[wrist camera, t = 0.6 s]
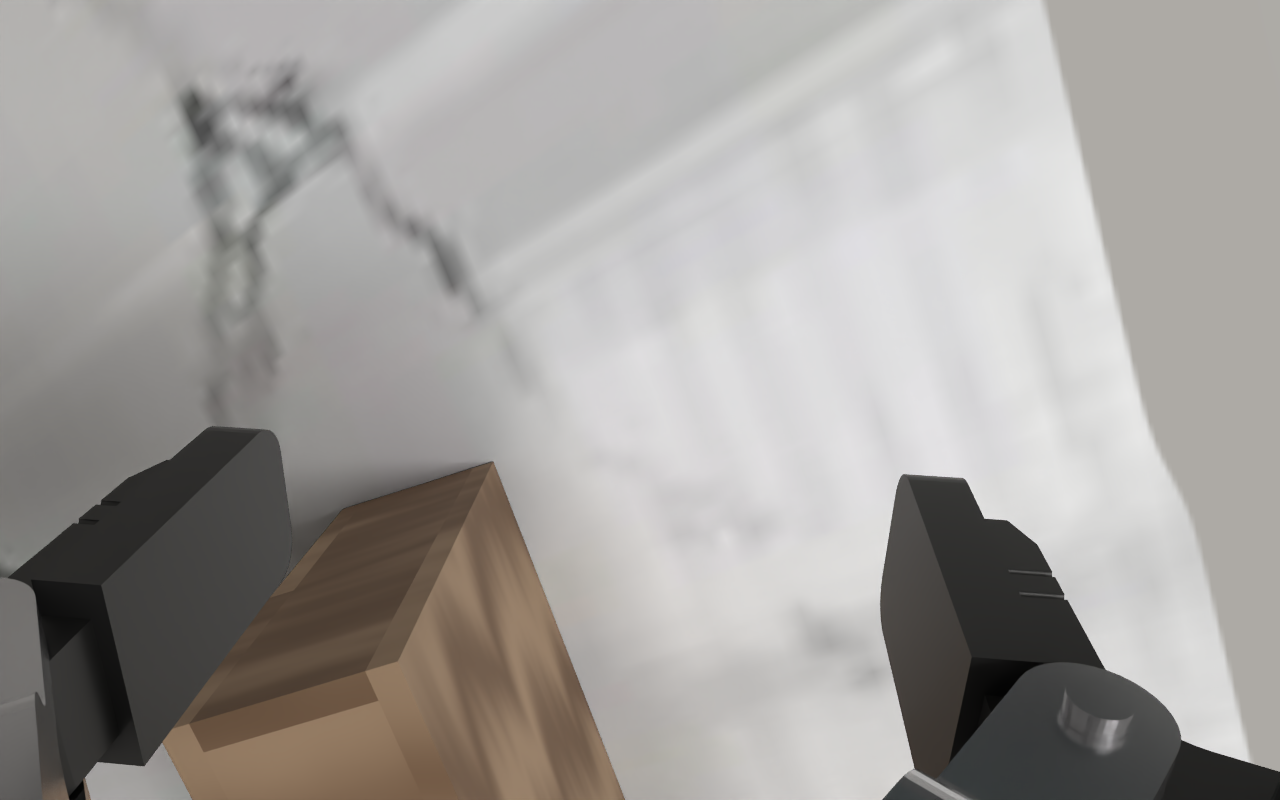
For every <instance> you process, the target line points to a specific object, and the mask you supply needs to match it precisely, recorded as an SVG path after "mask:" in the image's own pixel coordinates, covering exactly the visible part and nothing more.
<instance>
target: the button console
mask: <svg viewBox="0 0 1280 800" xmlns="http://www.w3.org/2000/svg"><path fill="white" fill-rule="evenodd" d="M162 743H163V744H164V746H165V748H166V750H167V752H168V754H169V756H170V758H171V760H172V762H173V763H174V765H175V767H176V769H177V771H178V773H179V775H180V777H181V779H182V781H183V782H184V784H185V786H186V788H187V790H188V792H189V794H190V796H191V798H192V800H625V799H624V796H623V793H622V791H621V788H620V786H619V783H618V781H617V778H616V775H615V773H614V770H613V768H612V765H611V763H610V760H609V757H608V755H607V752H606V750H605V747H604V745H603V742H602V740H601V737H600V734H599V732H598V729H597V727H596V724H595V722H594V719H593V716H592V714H591V711H590V709H589V706H588V704H587V701H586V698H585V696H584V693H583V691H582V688H581V686H580V683H579V681H578V678H577V675H576V673H575V670H574V668H573V665H572V663H571V660H570V657H569V655H568V652H567V650H566V647H565V645H564V642H563V639H562V637H561V634H560V632H559V629H558V627H557V624H556V621H555V619H554V616H553V614H552V611H551V609H550V606H549V604H548V601H547V598H546V596H545V593H544V591H543V588H542V586H541V583H540V580H539V578H538V575H537V573H536V570H535V568H534V565H533V562H532V560H531V557H530V555H529V552H528V550H527V547H526V544H525V542H524V539H523V537H522V534H521V532H520V529H519V527H518V524H517V521H516V519H515V516H514V514H513V511H512V509H511V506H510V503H509V501H508V498H507V496H506V493H505V491H504V488H503V485H502V483H501V480H500V478H499V475H498V473H497V470H496V468H495V465H494V462H490V463H487V464H484V465H481V466H478V467H474V468H471V469H468V470H465V471H462V472H459V473H455V474H452V475H449V476H446V477H443V478H440V479H436V480H433V481H430V482H427V483H424V484H421V485H417V486H414V487H411V488H408V489H405V490H402V491H398V492H395V493H392V494H389V495H386V496H383V497H379V498H376V499H373V500H370V501H367V502H364V503H360V504H357V505H354V506H351V507H348V508H345V509H342V511H341V512H340V513H339V514H338V515H337V517H336V518H335V519H334V520H333V521H332V523H331V524H330V525H329V526H328V528H327V529H326V530H325V531H324V532H323V534H322V535H321V536H320V537H319V538H318V540H317V541H316V542H315V543H314V545H313V546H312V547H311V548H310V549H309V551H308V552H307V553H306V554H305V555H304V557H303V558H302V559H301V560H300V561H299V563H298V564H297V565H296V566H295V568H294V569H293V570H292V571H291V572H290V574H289V575H288V576H287V577H286V578H285V580H284V581H283V582H282V583H281V584H280V586H279V587H278V588H277V589H276V591H275V592H274V593H273V594H272V595H271V597H270V598H269V599H268V601H267V602H266V603H265V605H264V606H263V607H262V609H261V610H260V611H259V613H258V614H257V615H256V617H255V618H254V619H253V621H252V622H251V623H250V625H249V626H248V628H247V629H246V630H245V632H244V633H243V634H242V636H241V637H240V638H239V640H238V641H237V642H236V644H235V645H234V646H233V648H232V649H231V650H230V652H229V653H228V654H227V656H226V657H225V658H224V660H223V661H222V662H221V664H220V665H219V667H218V668H217V669H216V671H215V672H214V673H213V675H212V676H211V677H210V679H209V680H208V681H207V683H206V684H205V685H204V687H203V688H202V689H201V691H200V692H199V693H198V695H197V696H196V697H195V699H194V700H193V701H192V703H191V704H190V705H189V707H188V708H187V710H186V711H185V712H184V714H183V715H182V716H181V718H180V719H179V720H178V722H177V723H176V724H175V726H174V727H173V728H172V730H171V731H170V732H169V734H168V735H167V736H166V738H165V739H164V740H163V742H162Z"/></svg>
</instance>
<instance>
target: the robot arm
mask: <svg viewBox="0 0 1280 800" xmlns="http://www.w3.org/2000/svg"><path fill="white" fill-rule="evenodd" d="M291 551H292V531H291V523H290V516H289V509H288V501H287V494H286V487H285V479H284V472H283V465H282V458H281V451H280V446H279V442H278V440H277V438H276V436H275V434H274V433H273V432H271V431H269V430H262V429H247V428H232V427H217V426H212V427H209V428H207V429H206V430H204V431H203V432H202V433H201V434H200V435H198V436H197V437H196V438H195V439H194V440H193V441H191V442H190V443H189V444H188V445H187V446H186V447H184V448H183V449H182V450H181V451H180V452H179V453H177V454H176V455H175V456H174V457H173V458H172V459H170V460H166V461H163V462H161V463H159V464H157V465H155V466H153V467H151V468H148V469H146V470H144V471H142V472H140V473H138V474H136V475H134V476H131V477H129V478H128V479H126V480H125V481H124V482H123V483H121V484H120V485H119V486H118V487H117V488H115V489H114V490H113V491H112V492H111V493H109V494H108V495H107V496H106V497H105V498H103V499H102V500H101V505H95V506H94V507H93V508H91V509H90V510H89V511H88V512H87V513H85V514H84V515H83V516H82V517H80V518H79V523H78V524H75V523H73V524H72V525H71V526H70V527H68V528H67V529H66V530H65V531H64V532H62V533H61V534H60V535H59V536H58V537H56V538H55V539H54V540H53V541H52V542H50V543H49V544H48V545H47V546H46V547H44V548H43V549H42V550H41V551H39V552H38V553H37V554H36V555H35V556H33V557H32V558H31V559H30V560H29V561H27V562H26V563H25V564H24V565H23V566H21V567H20V568H19V569H18V570H17V571H15V572H14V573H13V574H12V575H11V576H9V577H8V578H0V800H91V798H90V795H89V791H88V787H87V784H86V780H85V777H86V775H87V774H88V773H89V772H90V770H91V769H92V768H93V767H94V766H95V764H96V763H97V762H104V763H115V764H126V765H136V766H145V765H146V763H147V762H148V761H149V759H150V758H151V757H152V755H153V754H154V753H155V751H156V750H157V749H158V747H159V746H160V744H161V743H162V742H163V740H164V739H165V738H166V736H167V735H168V734H169V732H170V731H171V730H172V728H173V727H174V726H175V724H176V723H177V722H178V720H179V719H180V718H181V716H182V715H183V714H184V712H185V711H186V710H187V708H188V707H189V705H190V704H191V703H192V701H193V700H194V699H195V697H196V696H197V695H198V693H199V692H200V691H201V689H202V688H203V687H204V685H205V684H206V683H207V681H208V680H209V679H210V677H211V676H212V675H213V673H214V672H215V671H216V669H217V668H218V667H219V665H220V664H221V662H222V661H223V660H224V658H225V657H226V656H227V654H228V653H229V652H230V650H231V649H232V648H233V646H234V645H235V644H236V642H237V641H238V640H239V638H240V637H241V636H242V634H243V633H244V632H245V630H246V629H247V628H248V626H249V625H250V623H251V622H252V621H253V619H254V618H255V617H256V615H257V614H258V613H259V611H260V610H261V609H262V607H263V606H264V605H265V603H266V602H267V601H268V599H269V598H270V597H271V595H272V594H273V593H274V591H275V590H276V589H277V587H278V586H279V584H280V583H281V582H282V580H283V578H284V576H285V574H286V571H287V569H288V565H289V562H290V557H291ZM880 611H881V624H882V631H883V635H884V640H885V644H886V648H887V652H888V657H889V661H890V665H891V669H892V674H893V678H894V682H895V686H896V691H897V695H898V699H899V704H900V708H901V712H902V716H903V721H904V725H905V729H906V733H907V738H908V742H909V746H910V750H911V755H912V759H913V763H914V768H915V769H913V770H911V771H909V772H908V773H907V774H905V775H904V776H903V777H902V778H901V779H900V780H899V781H898V782H897V783H896V785H895V786H894V787H893V788H892V789H891V790H890V791H889V793H888V794H887V795H886V796H885V797H884V798H883V800H1280V772H1278V771H1275V770H1271V769H1268V768H1265V767H1261V766H1258V765H1255V764H1251V763H1248V762H1245V761H1241V760H1238V759H1235V758H1231V757H1228V756H1224V755H1221V754H1218V753H1214V752H1211V751H1208V750H1205V749H1202V748H1199V747H1196V746H1194V745H1192V744H1189V743H1187V742H1185V741H1182V740H1181V734H1180V731H1179V727H1178V725H1177V723H1176V721H1175V719H1174V717H1173V716H1172V715H1171V713H1170V712H1169V711H1168V710H1167V708H1166V707H1165V706H1164V705H1163V704H1162V703H1161V702H1160V701H1159V700H1158V699H1157V698H1156V697H1154V696H1153V695H1152V694H1150V693H1149V692H1148V691H1146V690H1145V689H1143V688H1142V687H1140V686H1139V685H1137V684H1135V683H1134V682H1132V681H1130V680H1128V679H1126V678H1124V677H1122V676H1120V675H1117V674H1115V673H1112V672H1110V671H1107V670H1105V668H1104V666H1103V665H1102V663H1101V661H1100V659H1099V657H1098V655H1097V654H1096V652H1095V650H1094V648H1093V646H1092V644H1091V643H1090V641H1089V639H1088V637H1087V635H1086V633H1085V632H1084V630H1083V628H1082V626H1081V624H1080V622H1079V620H1078V619H1077V617H1076V615H1075V613H1074V611H1073V609H1072V608H1071V606H1070V604H1069V602H1068V600H1064V593H1063V591H1062V589H1061V587H1060V586H1059V584H1058V582H1057V580H1056V578H1055V577H1052V571H1051V569H1050V567H1049V565H1048V563H1047V562H1046V560H1045V558H1044V556H1043V554H1042V552H1041V551H1040V549H1039V547H1038V545H1037V544H1036V543H1034V542H1033V541H1032V540H1031V539H1029V538H1028V537H1027V536H1026V535H1025V534H1023V533H1022V532H1021V531H1020V530H1018V529H1017V528H1016V527H1015V526H1013V525H1012V524H1011V523H1010V522H1008V521H1007V520H993V519H984V517H983V515H982V513H981V511H980V509H979V506H978V504H977V502H976V500H975V498H974V496H973V494H972V492H971V490H970V487H969V485H968V483H967V482H966V480H965V479H963V478H952V477H937V476H922V475H907V474H903V475H902V476H901V478H900V480H899V483H898V486H897V490H896V496H895V502H894V508H893V514H892V520H891V527H890V533H889V539H888V545H887V552H886V558H885V564H884V570H883V576H882V584H881V599H880Z"/></svg>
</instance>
